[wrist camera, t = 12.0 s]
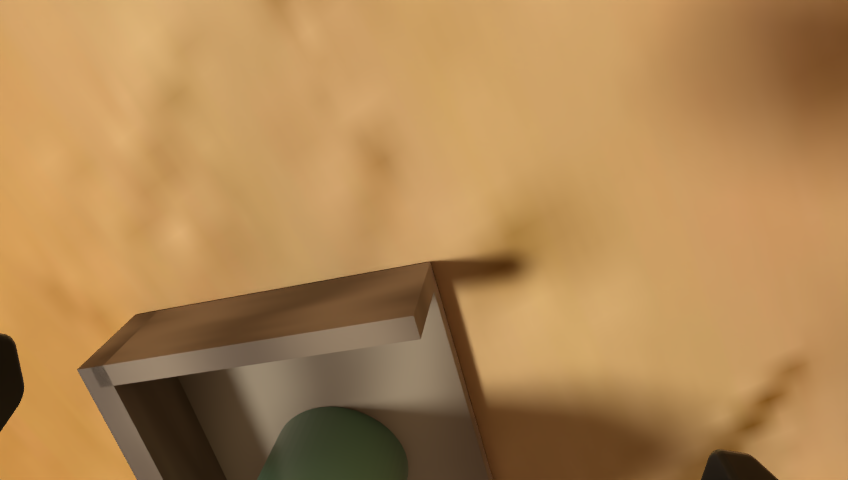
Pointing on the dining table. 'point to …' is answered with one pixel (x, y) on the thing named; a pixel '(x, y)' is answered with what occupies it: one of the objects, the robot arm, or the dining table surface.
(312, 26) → the dining table surface
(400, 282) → the u rest
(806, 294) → the dining table surface
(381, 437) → the bottle
